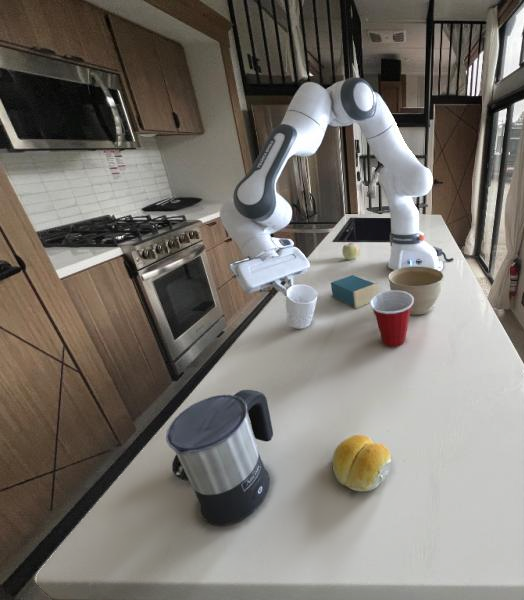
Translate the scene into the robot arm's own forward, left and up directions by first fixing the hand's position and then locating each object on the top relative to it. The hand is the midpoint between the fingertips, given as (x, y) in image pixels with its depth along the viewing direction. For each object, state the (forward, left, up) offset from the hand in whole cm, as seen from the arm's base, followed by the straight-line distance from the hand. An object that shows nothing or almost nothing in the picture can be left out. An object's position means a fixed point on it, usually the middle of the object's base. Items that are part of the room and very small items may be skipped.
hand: (291, 293), depth 88 cm
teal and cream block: (-7, -23, -7) cm, 25 cm away
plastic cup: (-29, +6, -10) cm, 31 cm away
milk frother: (-9, +47, -10) cm, 49 cm away
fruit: (0, -58, -10) cm, 59 cm away
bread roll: (-30, +42, -10) cm, 52 cm away
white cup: (-1, 0, -9) cm, 9 cm away
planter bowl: (-33, -13, -10) cm, 37 cm away
